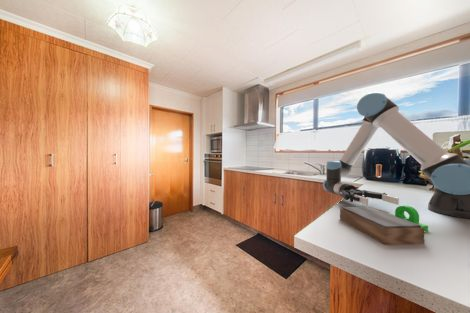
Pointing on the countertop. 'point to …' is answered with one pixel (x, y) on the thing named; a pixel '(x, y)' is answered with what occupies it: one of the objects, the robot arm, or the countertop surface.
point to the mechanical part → (412, 215)
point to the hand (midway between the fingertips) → (382, 201)
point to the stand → (382, 225)
